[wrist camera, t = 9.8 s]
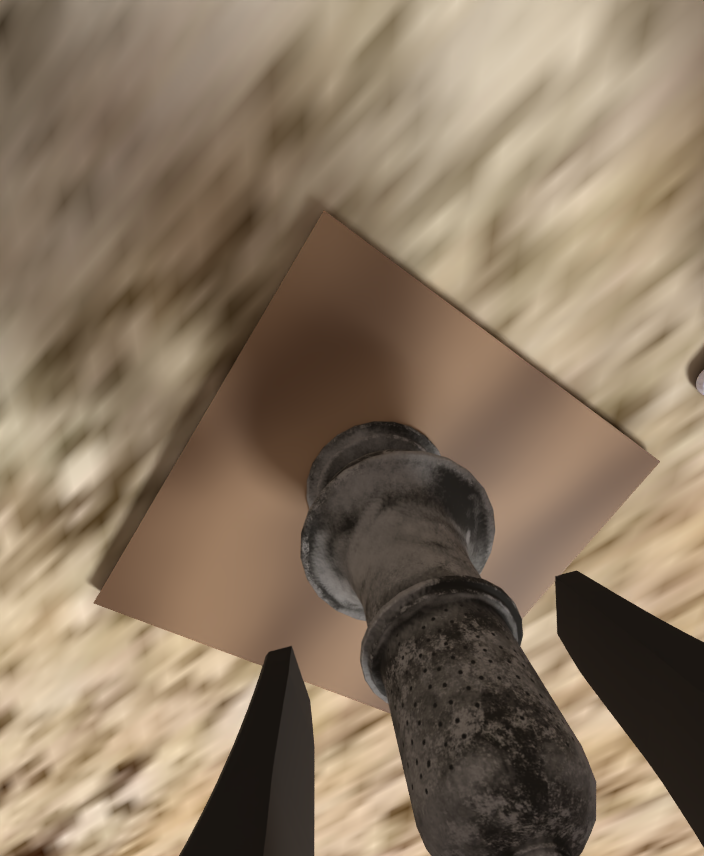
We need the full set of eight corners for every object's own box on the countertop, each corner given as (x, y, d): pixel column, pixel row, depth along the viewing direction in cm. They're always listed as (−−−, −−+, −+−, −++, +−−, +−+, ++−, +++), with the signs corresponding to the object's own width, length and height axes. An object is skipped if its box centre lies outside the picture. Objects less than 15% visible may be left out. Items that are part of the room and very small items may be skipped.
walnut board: (648, 455, 18) (660, 461, 17) (423, 715, 21) (427, 727, 21) (322, 212, 13) (323, 209, 13) (99, 592, 17) (93, 603, 16)
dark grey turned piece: (286, 548, 16) (279, 1136, 5) (312, 401, 15) (383, 813, 3) (432, 561, 18) (684, 1069, 6) (472, 425, 16) (920, 797, 5)
